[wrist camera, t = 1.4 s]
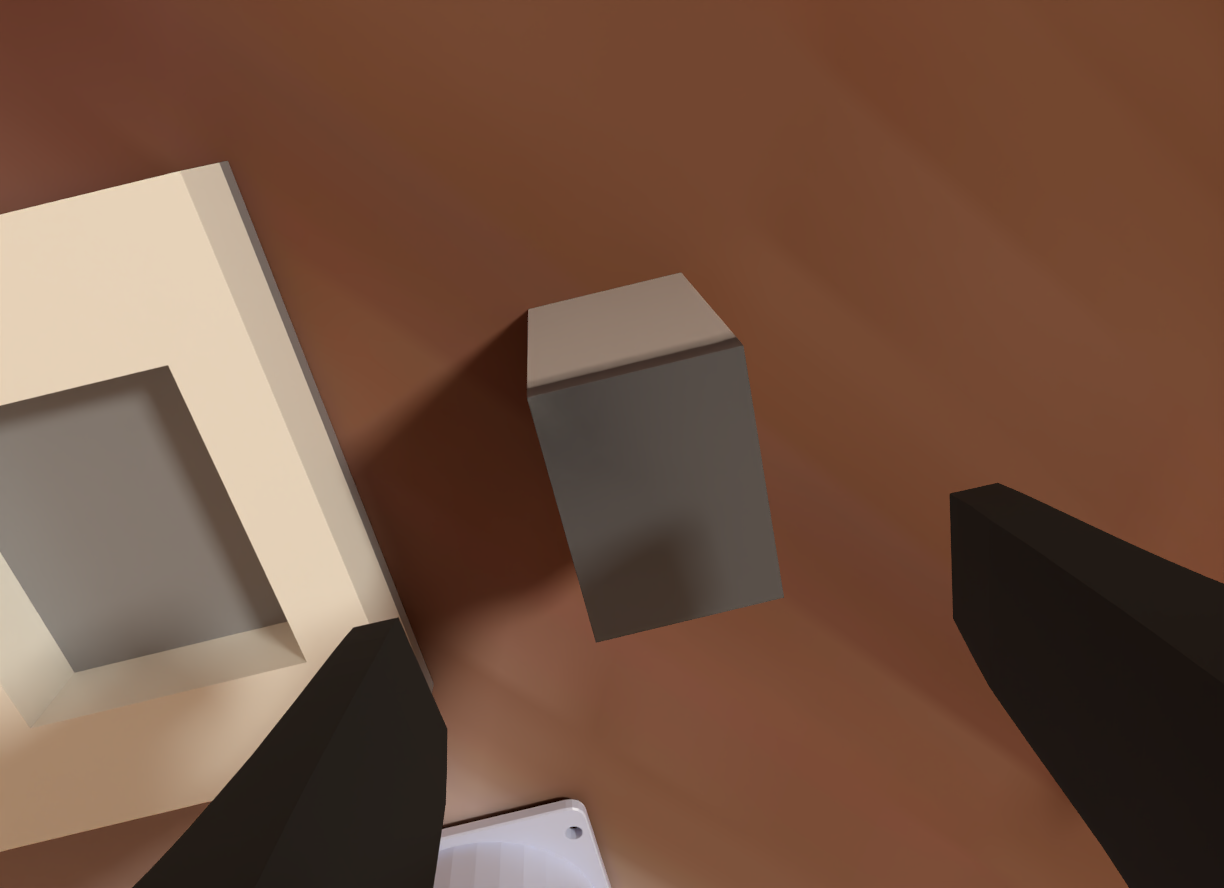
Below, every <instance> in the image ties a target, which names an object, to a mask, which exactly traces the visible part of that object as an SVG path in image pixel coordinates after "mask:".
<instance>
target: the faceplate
mask: <svg viewBox="0 0 1224 888" xmlns="http://www.w3.org/2000/svg"><path fill="white" fill-rule="evenodd" d="M398 617H399V620H400V622H401V624H402V626H403V629H404V631H405V633H406V636H407V638H408V640H409V643H410V645H411V647H412V649H413V652H414V654H415V656H416V659H417V661H418V663H419V665H420V668H421V670H422V672H423V675H424V677H425V679H426V682H427V684H428V686H429V688H430V691H431V693H432V690H433V681H432V679H431V676H430V674H429V671H428V669H427V666H426V664H425V661H424V659H423V656H422V653H421V651H420V648H419V646H418V643H417V641H416V638H415V636H414V633H413V631H412V628H411V625H410V623H409V620H408V618H407V615H406V613H405V610H404V608H403V605H402V603H401V600H400V597H399V595H398V592H397V590H396V587H395V585H394V582H393V580H392V577H391V575H390V572H389V570H388V567H387V564H386V562H385V559H384V557H383V554H382V552H381V549H380V547H379V544H378V542H377V539H376V536H375V534H374V531H373V529H372V526H371V524H370V521H369V519H368V516H367V514H366V511H365V509H364V506H363V503H362V501H361V498H360V496H359V493H358V491H357V488H356V486H355V483H354V481H353V478H352V475H351V473H350V470H349V468H348V465H347V463H346V460H345V458H344V455H343V453H342V450H341V448H340V445H339V442H338V440H337V437H336V435H335V432H334V430H333V427H332V425H331V422H330V420H329V417H328V414H327V412H326V409H325V407H324V404H323V402H322V399H321V397H320V394H319V392H318V389H317V386H316V384H315V381H314V379H313V376H312V374H311V371H310V369H309V366H308V364H307V361H306V359H305V356H304V353H303V351H302V348H301V346H300V343H299V341H298V338H297V336H296V333H295V331H294V328H293V325H292V323H291V320H290V318H289V315H288V313H287V310H286V308H285V305H284V303H283V300H282V298H281V295H280V292H279V290H278V287H277V285H276V282H275V280H274V277H273V275H272V272H271V270H270V267H269V264H268V262H267V259H266V257H265V254H264V252H263V249H262V247H261V244H260V242H259V239H258V236H257V234H256V231H255V229H254V226H253V224H252V221H251V219H250V216H249V214H248V211H247V209H246V206H245V203H244V201H243V198H242V196H241V193H240V191H239V188H238V186H237V183H236V181H235V178H234V175H233V173H232V170H231V168H230V165H229V163H228V161H225V162H220V163H216V164H211V165H206V166H202V167H197V168H192V169H188V170H183V171H178V172H174V173H170V174H166V175H162V176H158V177H154V178H150V179H145V180H141V181H137V182H133V183H129V184H125V185H121V186H117V187H112V188H108V189H104V190H100V191H96V192H92V193H88V194H84V195H79V196H75V197H71V198H67V199H63V200H59V201H55V202H51V203H46V204H42V205H38V206H34V207H30V208H26V209H22V210H18V211H13V212H9V213H5V214H1V215H0V852H1V851H5V850H9V849H14V848H18V847H22V846H26V845H30V844H34V843H39V842H43V841H47V840H51V839H55V838H60V837H64V836H68V835H72V834H76V833H80V832H85V831H89V830H93V829H97V828H101V827H105V826H110V825H114V824H118V823H122V822H126V821H131V820H135V819H139V818H143V817H147V816H151V815H156V814H160V813H164V812H168V811H172V810H176V809H181V808H185V807H189V806H193V805H197V804H202V803H206V802H210V801H213V800H214V798H215V797H216V796H217V795H218V794H219V793H220V791H221V790H222V789H223V788H224V787H225V786H226V784H227V783H228V782H229V781H230V780H231V779H232V778H233V776H234V775H235V774H236V773H237V772H238V771H239V769H240V768H241V767H242V766H243V765H244V764H245V762H246V761H247V760H248V759H249V758H250V757H251V755H252V754H253V753H254V752H255V750H256V749H257V748H258V747H259V745H260V744H261V743H262V742H263V740H264V739H265V738H266V737H267V735H268V734H269V733H270V732H271V730H272V729H273V728H274V727H275V725H276V724H277V723H278V721H279V720H280V719H281V718H282V716H283V715H284V714H285V713H286V711H287V710H288V709H289V708H290V706H291V705H292V704H293V703H294V701H295V700H296V699H297V697H298V696H299V695H300V694H301V692H302V691H303V690H304V688H305V687H306V686H307V685H308V683H309V682H310V681H311V679H312V678H313V677H314V676H315V674H316V673H317V672H318V670H319V669H320V668H321V666H322V665H323V664H324V663H325V661H326V660H327V659H328V658H329V656H330V655H331V654H332V652H333V651H334V650H335V649H336V647H337V646H338V645H339V644H340V642H341V641H342V640H343V639H344V638H345V636H346V635H347V634H348V633H349V632H350V631H351V629H352V628H353V627H357V626H362V625H366V624H371V623H375V622H380V621H384V620H389V619H393V618H398Z"/></svg>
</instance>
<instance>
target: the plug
mask: <svg viewBox="0 0 1224 888" xmlns="http://www.w3.org/2000/svg"><path fill="white" fill-rule="evenodd" d="M527 400H528V403H529V407H530V410H531V414H532V417H533V421H534V424H535V428H536V432H537V435H538V439H539V442H540V446H541V449H542V453H543V456H544V460H545V463H546V467H547V471H548V474H549V478H550V481H551V485H552V488H553V492H554V495H555V499H556V502H557V506H558V510H559V513H560V517H561V520H562V524H563V527H564V531H565V534H566V538H567V541H568V545H569V548H570V552H571V556H572V559H573V563H574V566H575V570H576V573H577V577H578V580H579V584H580V587H581V591H582V595H583V598H584V602H585V605H586V609H587V612H588V616H589V619H590V623H591V626H592V630H593V634H594V637H595V641H596V642H600V641H605V640H609V639H613V638H617V637H621V636H625V635H630V634H634V633H638V632H642V631H646V630H650V629H655V628H659V627H663V626H667V625H671V624H675V623H680V622H684V621H688V620H692V619H696V618H700V617H705V616H709V615H713V614H717V613H721V612H725V611H730V610H734V609H738V608H742V607H746V606H750V605H755V604H759V603H763V602H767V601H771V600H775V599H780V598H784V595H783V589H782V583H781V576H780V570H779V564H778V558H777V552H776V545H775V539H774V533H773V527H772V521H771V515H770V508H769V502H768V496H767V490H766V484H765V477H764V471H763V465H762V459H761V453H760V446H759V440H758V434H757V428H756V422H755V415H754V409H753V403H752V397H751V391H750V384H749V378H748V372H747V366H746V360H745V353H744V347H743V345H742V343H741V342H740V341H739V340H738V339H737V338H736V336H735V335H734V334H733V333H732V332H731V331H730V329H729V328H728V327H727V326H726V325H725V324H724V322H723V321H722V320H721V319H720V318H719V316H718V315H717V314H716V313H715V312H714V311H713V309H712V308H711V307H710V306H709V305H708V304H707V302H706V301H705V300H704V299H703V298H702V297H701V295H700V294H699V293H698V292H697V291H696V290H695V288H694V287H693V286H692V285H691V284H690V283H689V281H688V280H687V279H686V278H685V277H684V275H683V274H682V273H677V274H673V275H669V276H665V277H661V278H657V279H652V280H648V281H644V282H640V283H636V284H632V285H628V286H623V287H619V288H615V289H611V290H607V291H603V292H599V293H594V294H590V295H586V296H582V297H578V298H574V299H570V300H565V301H561V302H557V303H553V304H549V305H545V306H541V307H536V308H532V309H528V359H527Z"/></svg>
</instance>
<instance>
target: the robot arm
mask: <svg viewBox="0 0 1224 888" xmlns="http://www.w3.org/2000/svg"><path fill="white" fill-rule="evenodd" d="M950 521H951V557H952V593H953V619H954V621H955V623H956V625H957V627H958V629H959V631H960V633H961V634H962V636H963V638H964V640H965V642H966V644H967V646H968V648H969V650H970V652H971V654H972V656H973V658H974V659H975V661H976V663H977V665H978V667H979V669H980V670H981V672H982V674H983V676H984V678H985V680H986V681H987V683H988V685H989V687H990V688H991V690H992V691H993V693H994V694H995V696H996V697H997V698H998V700H999V701H1000V703H1001V704H1002V706H1003V707H1004V709H1005V710H1006V711H1007V713H1008V714H1009V716H1010V717H1011V719H1012V720H1013V721H1014V723H1015V724H1016V726H1017V727H1018V729H1019V730H1020V731H1021V733H1022V734H1023V736H1024V737H1025V739H1026V740H1027V741H1028V743H1029V744H1030V746H1031V747H1032V748H1033V750H1034V751H1035V753H1036V754H1037V755H1038V757H1039V758H1040V760H1041V761H1042V762H1043V764H1044V765H1045V767H1046V768H1047V769H1048V771H1049V772H1050V774H1051V775H1052V776H1053V778H1054V779H1055V781H1056V782H1057V783H1058V785H1059V786H1060V788H1061V789H1062V790H1063V792H1064V793H1065V795H1066V796H1067V798H1068V799H1069V800H1070V802H1071V803H1072V805H1073V806H1074V807H1075V809H1076V810H1077V812H1078V813H1079V814H1080V816H1081V817H1082V819H1083V820H1084V821H1085V823H1086V824H1087V826H1088V827H1089V828H1090V830H1091V831H1092V833H1093V834H1094V835H1095V837H1096V838H1097V840H1098V841H1099V842H1100V844H1101V845H1102V847H1103V848H1104V850H1105V851H1106V853H1107V854H1108V856H1109V857H1110V859H1111V860H1112V862H1113V864H1114V865H1115V867H1116V868H1117V870H1118V871H1119V873H1120V874H1121V876H1122V877H1123V879H1124V880H1125V882H1126V883H1127V885H1128V887H1129V888H1224V584H1223V583H1220V582H1218V581H1215V580H1213V579H1210V578H1208V577H1205V576H1203V575H1201V574H1198V573H1196V572H1194V571H1191V570H1189V569H1187V568H1184V567H1182V566H1180V565H1177V564H1175V563H1173V562H1170V561H1168V560H1166V559H1163V558H1161V557H1159V556H1157V555H1154V554H1152V553H1150V552H1148V551H1145V550H1143V549H1141V548H1139V547H1137V546H1134V545H1132V544H1130V543H1128V542H1126V541H1123V540H1121V539H1119V538H1117V537H1115V536H1113V535H1110V534H1108V533H1106V532H1104V531H1102V530H1100V529H1097V528H1095V527H1093V526H1091V525H1089V524H1087V523H1085V522H1083V521H1080V520H1078V519H1076V518H1074V517H1072V516H1070V515H1068V514H1066V513H1064V512H1061V511H1059V510H1057V509H1055V508H1053V507H1051V506H1049V505H1047V504H1044V503H1042V502H1040V501H1038V500H1036V499H1034V498H1032V497H1029V496H1027V495H1025V494H1023V493H1020V492H1018V491H1016V490H1014V489H1011V488H1009V487H1006V486H1004V485H1002V484H999V483H995V484H991V485H986V486H982V487H977V488H973V489H968V490H964V491H960V492H955V493H951V494H950ZM446 779H447V727H446V725H445V723H444V720H443V718H442V716H441V714H440V711H439V709H438V707H437V704H436V702H435V700H434V698H433V695H432V693H431V691H430V688H429V686H428V684H427V682H426V679H425V677H424V675H423V672H422V670H421V668H420V665H419V663H418V661H417V659H416V656H415V654H414V652H413V649H412V647H411V645H410V643H409V640H408V638H407V636H406V633H405V631H404V629H403V626H402V624H401V622H400V620H399V617H398V618H393V619H389V620H384V621H380V622H375V623H371V624H366V625H362V626H357V627H353V628H352V629H351V631H350V632H349V633H348V634H347V635H346V636H345V638H344V639H343V640H342V641H341V642H340V644H339V645H338V646H337V647H336V649H335V650H334V651H333V652H332V654H331V655H330V656H329V658H328V659H327V660H326V661H325V663H324V664H323V665H322V666H321V668H320V669H319V670H318V672H317V673H316V674H315V676H314V677H313V678H312V679H311V681H310V682H309V683H308V685H307V686H306V687H305V688H304V690H303V691H302V692H301V694H300V695H299V696H298V697H297V699H296V700H295V701H294V703H293V704H292V705H291V706H290V708H289V709H288V710H287V711H286V713H285V714H284V715H283V716H282V718H281V719H280V720H279V721H278V723H277V724H276V725H275V727H274V728H273V729H272V730H271V732H270V733H269V734H268V735H267V737H266V738H265V739H264V740H263V742H262V743H261V744H260V745H259V747H258V748H257V749H256V750H255V752H254V753H253V754H252V755H251V757H250V758H249V759H248V760H247V761H246V762H245V764H244V765H243V766H242V767H241V768H240V769H239V771H238V772H237V773H236V774H235V775H234V776H233V778H232V779H231V780H230V781H229V782H228V783H227V784H226V786H225V787H224V788H223V789H222V790H221V791H220V793H219V794H218V795H217V796H216V797H215V798H214V800H213V801H212V802H211V803H210V804H209V805H208V807H207V808H206V809H205V810H204V811H203V812H202V814H201V815H200V816H199V817H198V818H197V819H196V821H195V822H194V823H193V824H192V825H191V826H190V828H189V829H188V830H187V831H186V832H185V833H184V834H183V835H182V836H181V837H180V838H179V840H178V841H177V842H176V843H175V844H174V845H173V846H172V847H171V848H170V849H169V850H168V851H167V852H166V854H165V855H164V856H163V857H162V858H161V859H160V860H159V861H158V862H157V863H156V864H155V865H154V866H153V867H152V868H151V869H150V870H149V871H148V872H147V873H146V874H145V875H144V876H143V877H142V878H141V879H140V880H139V881H138V882H137V883H136V884H135V885H134V886H133V887H132V888H611V885H610V882H609V879H608V876H607V873H606V870H605V867H604V864H603V860H602V857H601V854H600V851H599V848H598V845H597V842H596V839H595V836H594V832H593V829H592V826H591V823H590V820H589V817H588V814H587V811H586V808H585V806H584V805H583V803H581V802H580V801H578V800H573V799H567V800H562V801H558V802H554V803H550V804H545V805H541V806H537V807H533V808H529V809H524V810H520V811H516V812H512V813H508V814H504V815H499V816H495V817H491V818H487V819H483V820H478V821H474V822H470V823H466V824H462V825H458V826H453V827H449V828H445V829H442V827H443V819H444V812H445V805H446ZM570 827H577V828H572V829H571V828H570Z"/></svg>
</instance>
